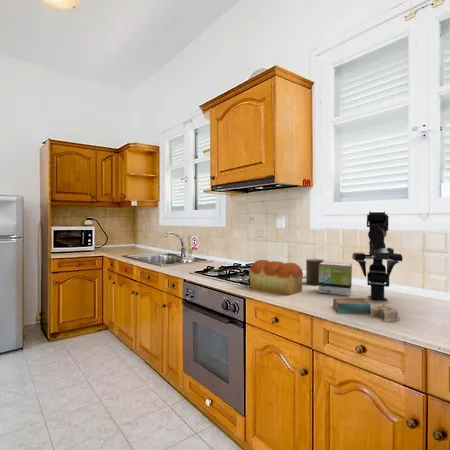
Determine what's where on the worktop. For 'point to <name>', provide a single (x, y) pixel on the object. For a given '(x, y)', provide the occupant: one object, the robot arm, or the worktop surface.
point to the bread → (276, 277)
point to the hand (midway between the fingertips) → (376, 276)
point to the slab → (351, 305)
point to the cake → (385, 313)
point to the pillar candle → (312, 271)
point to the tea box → (335, 278)
